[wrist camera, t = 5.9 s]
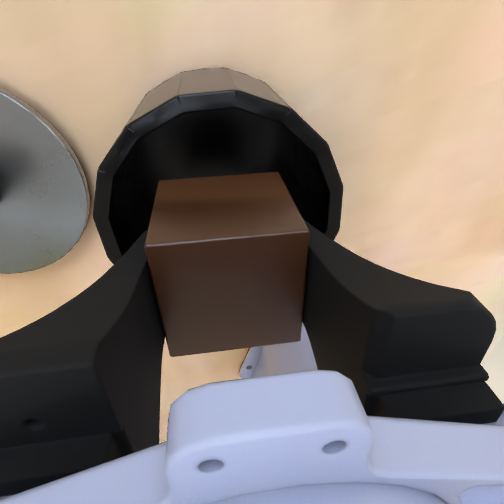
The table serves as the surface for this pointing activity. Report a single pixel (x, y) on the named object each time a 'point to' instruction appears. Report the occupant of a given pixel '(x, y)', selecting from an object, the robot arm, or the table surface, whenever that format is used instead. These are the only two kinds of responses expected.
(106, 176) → the black round pot
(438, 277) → the table surface
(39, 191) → the lid
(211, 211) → the block
